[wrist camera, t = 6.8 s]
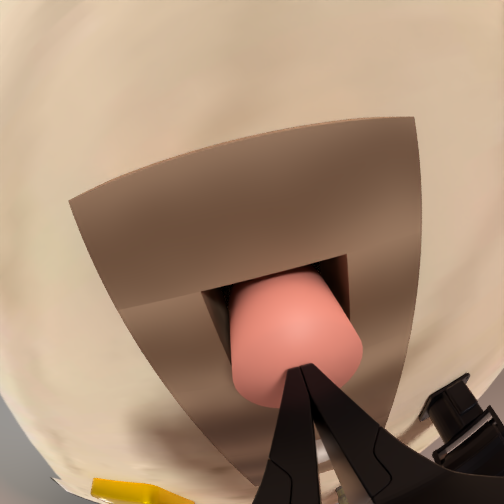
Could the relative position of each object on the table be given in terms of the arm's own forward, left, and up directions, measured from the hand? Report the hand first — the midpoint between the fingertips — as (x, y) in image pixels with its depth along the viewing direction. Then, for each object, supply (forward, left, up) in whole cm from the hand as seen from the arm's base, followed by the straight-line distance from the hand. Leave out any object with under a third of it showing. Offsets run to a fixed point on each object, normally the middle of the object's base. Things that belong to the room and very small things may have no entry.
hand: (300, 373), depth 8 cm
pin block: (-7, 0, -6) cm, 9 cm away
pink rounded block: (0, 0, -4) cm, 4 cm away
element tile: (-40, +31, -7) cm, 51 cm away
